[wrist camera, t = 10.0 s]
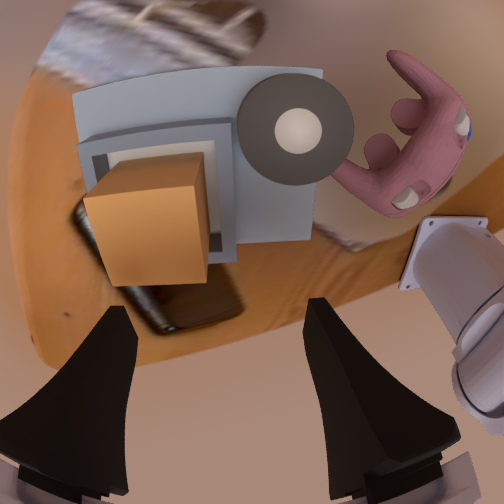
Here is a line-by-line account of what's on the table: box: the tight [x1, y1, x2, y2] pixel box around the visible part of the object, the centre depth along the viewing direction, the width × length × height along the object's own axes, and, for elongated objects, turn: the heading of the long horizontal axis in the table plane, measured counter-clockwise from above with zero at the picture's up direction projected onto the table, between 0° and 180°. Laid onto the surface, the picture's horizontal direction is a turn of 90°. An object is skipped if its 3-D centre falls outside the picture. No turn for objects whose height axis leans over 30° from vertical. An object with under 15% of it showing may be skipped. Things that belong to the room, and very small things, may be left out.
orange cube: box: [83, 152, 210, 286], centre depth 14 cm, size 5×5×5 cm
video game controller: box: [330, 50, 472, 218], centre depth 14 cm, size 10×5×7 cm, turn 148°
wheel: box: [237, 73, 354, 186], centre depth 12 cm, size 5×5×4 cm
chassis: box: [72, 66, 323, 264], centre depth 15 cm, size 14×11×4 cm
